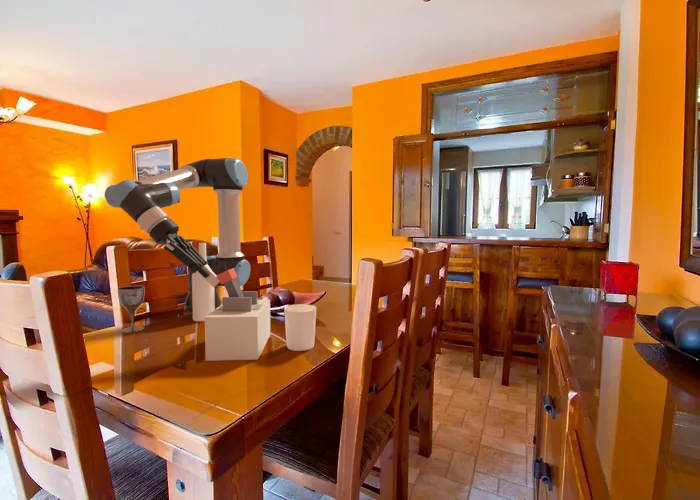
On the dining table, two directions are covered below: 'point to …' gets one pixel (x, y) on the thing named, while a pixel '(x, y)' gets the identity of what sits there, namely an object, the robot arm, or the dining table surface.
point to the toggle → (230, 283)
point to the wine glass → (131, 303)
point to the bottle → (202, 292)
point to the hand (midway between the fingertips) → (217, 283)
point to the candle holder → (300, 326)
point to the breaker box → (237, 328)
